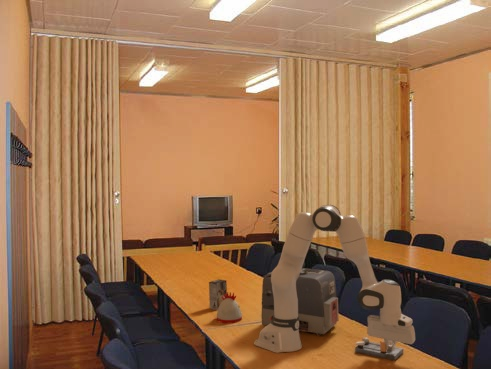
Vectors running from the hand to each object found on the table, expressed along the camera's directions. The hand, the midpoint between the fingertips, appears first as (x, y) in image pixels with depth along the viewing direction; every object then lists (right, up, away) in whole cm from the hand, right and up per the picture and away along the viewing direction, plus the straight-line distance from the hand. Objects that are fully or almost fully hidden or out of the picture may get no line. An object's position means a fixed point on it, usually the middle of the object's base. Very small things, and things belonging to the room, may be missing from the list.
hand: (390, 349), depth 216 cm
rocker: (-11, 0, +8) cm, 14 cm away
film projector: (-34, -3, +43) cm, 54 cm away
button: (-8, -1, +13) cm, 15 cm away
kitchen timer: (-72, -3, +59) cm, 93 cm away
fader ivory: (+2, -1, +6) cm, 7 cm away
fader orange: (-2, -1, +2) cm, 3 cm away
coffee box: (-79, -2, +81) cm, 113 cm away
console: (-3, -3, +6) cm, 8 cm away
